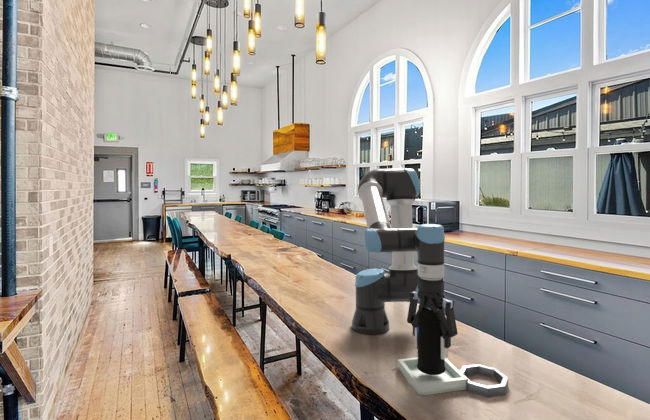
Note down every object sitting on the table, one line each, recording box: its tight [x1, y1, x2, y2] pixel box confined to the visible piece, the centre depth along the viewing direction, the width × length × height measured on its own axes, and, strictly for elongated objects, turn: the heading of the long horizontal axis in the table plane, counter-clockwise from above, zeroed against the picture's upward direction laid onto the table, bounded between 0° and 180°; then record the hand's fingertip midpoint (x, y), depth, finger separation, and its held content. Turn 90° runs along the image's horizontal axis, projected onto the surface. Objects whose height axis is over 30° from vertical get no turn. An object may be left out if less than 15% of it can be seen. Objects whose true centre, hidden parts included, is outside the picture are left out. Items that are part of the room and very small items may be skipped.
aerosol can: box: [417, 308, 446, 375], centre depth 107 cm, size 8×8×20 cm
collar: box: [459, 363, 509, 398], centre depth 104 cm, size 12×12×2 cm
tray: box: [397, 356, 469, 397], centre depth 107 cm, size 15×15×3 cm
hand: (431, 352), depth 107 cm, fingers closed on aerosol can, 8 cm apart
